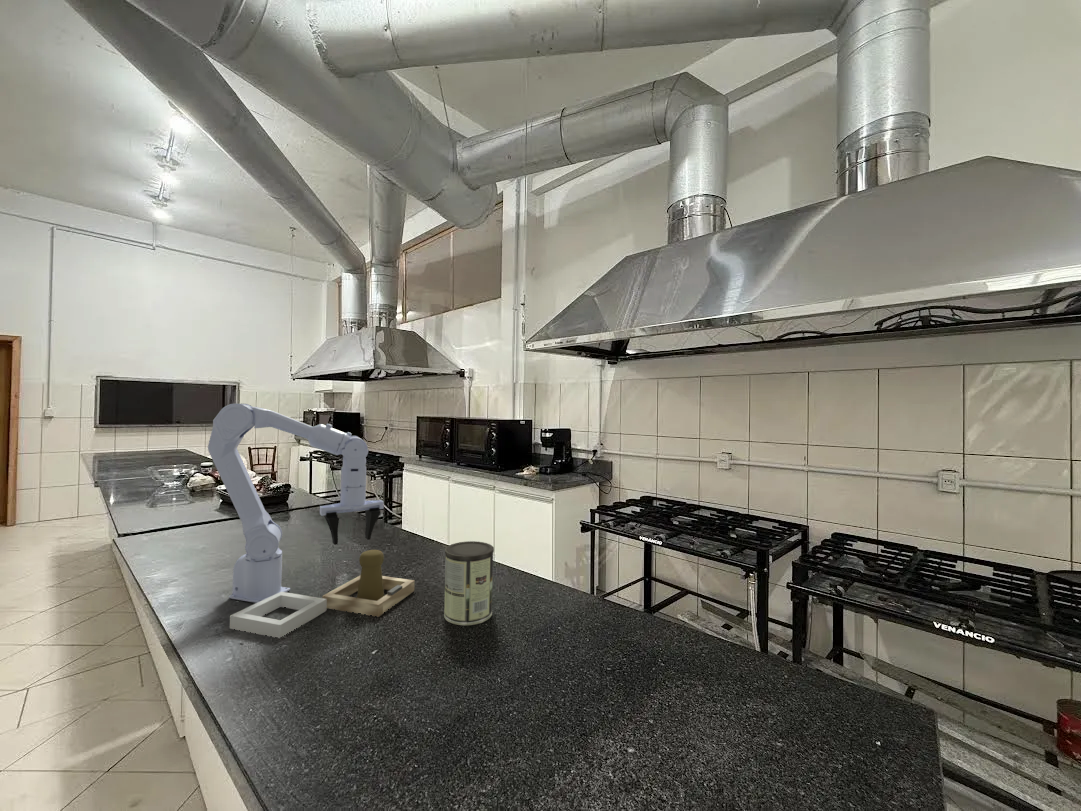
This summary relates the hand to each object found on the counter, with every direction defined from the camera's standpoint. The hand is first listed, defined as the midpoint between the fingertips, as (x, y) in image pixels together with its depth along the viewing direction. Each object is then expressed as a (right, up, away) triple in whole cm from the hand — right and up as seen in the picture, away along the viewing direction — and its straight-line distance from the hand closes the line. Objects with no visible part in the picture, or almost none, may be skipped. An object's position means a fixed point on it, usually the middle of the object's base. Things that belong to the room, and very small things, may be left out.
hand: (351, 541), depth 110 cm
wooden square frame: (+8, -11, -8) cm, 16 cm away
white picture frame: (-6, -10, -19) cm, 23 cm away
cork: (+8, -11, -9) cm, 16 cm away
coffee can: (+31, -11, -15) cm, 36 cm away
